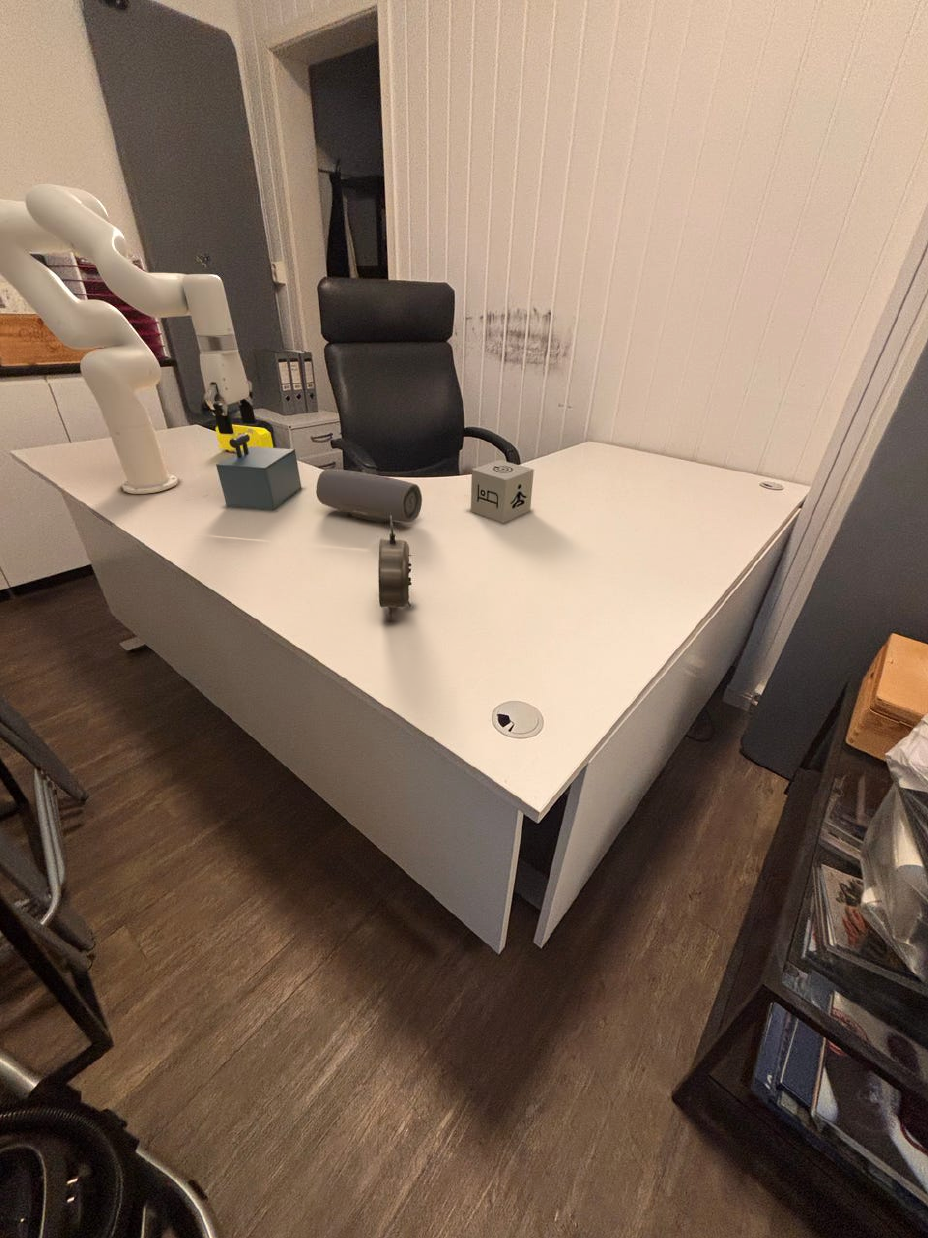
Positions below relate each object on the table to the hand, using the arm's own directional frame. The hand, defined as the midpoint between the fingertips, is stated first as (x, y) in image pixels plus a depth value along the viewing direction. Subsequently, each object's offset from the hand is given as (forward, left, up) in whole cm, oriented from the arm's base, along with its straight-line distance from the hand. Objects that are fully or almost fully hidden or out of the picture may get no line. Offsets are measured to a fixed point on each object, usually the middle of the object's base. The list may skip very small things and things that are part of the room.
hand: (238, 428), depth 117 cm
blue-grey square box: (+3, +1, -16) cm, 17 cm away
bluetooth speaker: (+32, +8, -17) cm, 37 cm away
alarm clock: (+62, -17, -17) cm, 67 cm away
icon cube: (+54, +29, -17) cm, 64 cm away
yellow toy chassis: (-34, +22, -17) cm, 44 cm away
